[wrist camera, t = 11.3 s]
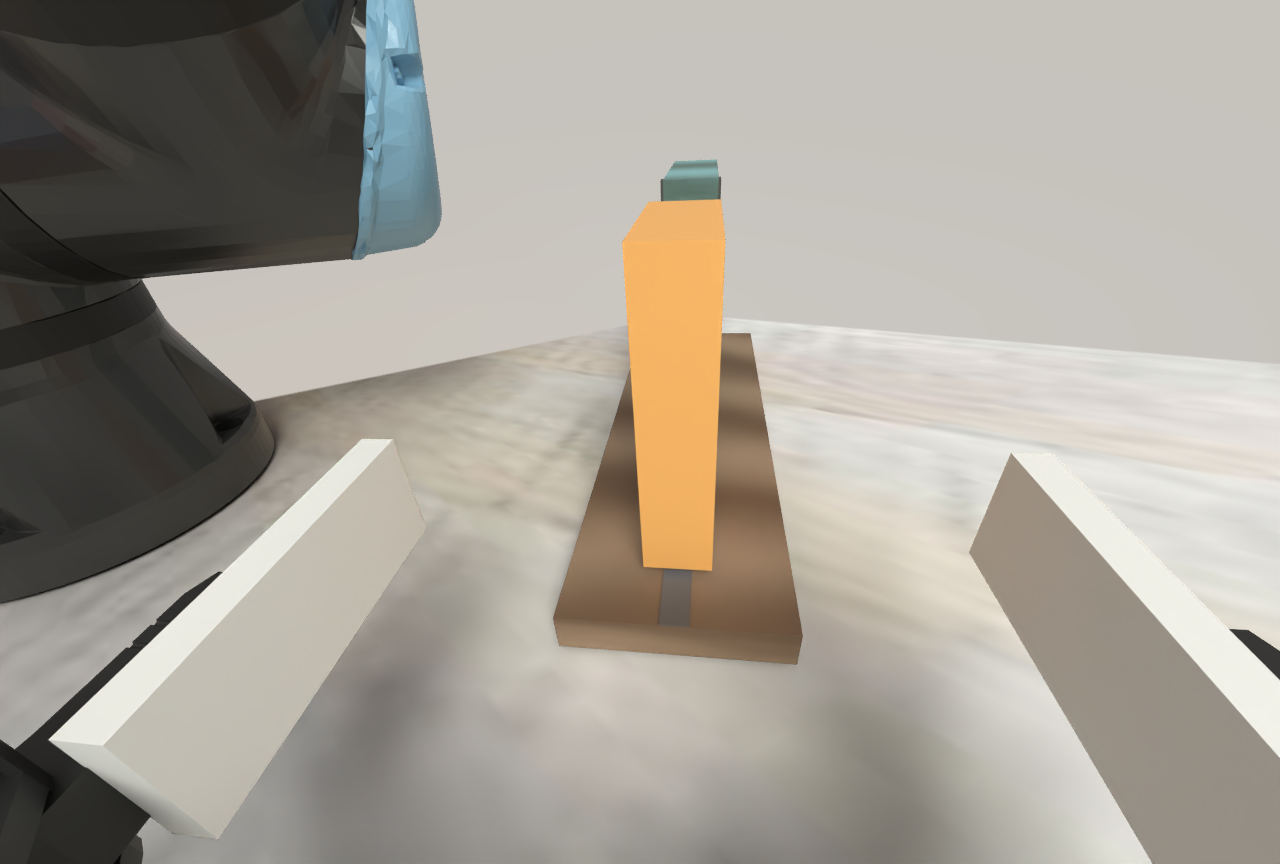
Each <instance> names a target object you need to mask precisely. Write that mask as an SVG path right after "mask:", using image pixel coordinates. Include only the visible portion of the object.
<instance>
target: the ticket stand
mask: <svg viewBox="0 0 1280 864" xmlns="http://www.w3.org/2000/svg"><path fill="white" fill-rule="evenodd" d="M720 194H721V177H719V176H718V166H717V160H697V161H676V162H675V163H674V164H673V166H672V167H671V169H670V170H669V172H668V173H667V175H666V176H665V178H664V179H661V201H687V200H715V199H720ZM553 620H554V624H555V629H556V633H557V638H558V642H559V646H570V647H583V648H595V649H608V650H621V651H634V652H647V653H659V654H672V655H685V656H698V657H711V658H723V659H736V660H749V661H762V662H774V663H787V664H797V662H798V657H799V652H800V647H801V642H802V637H803V635H802V629H801V623H800V617H799V612H798V606H797V600H796V594H795V588H794V583H793V577H792V571H791V565H790V560H789V554H788V548H787V542H786V536H785V531H784V525H783V519H782V513H781V508H780V502H779V496H778V490H777V484H776V479H775V473H774V467H773V461H772V456H771V450H770V444H769V438H768V433H767V427H766V421H765V415H764V409H763V404H762V398H761V392H760V386H759V381H758V375H757V369H756V363H755V357H754V352H753V346H752V340H751V334H750V333H722V335H721V360H720V385H719V410H718V434H717V459H716V484H715V509H714V534H713V559H712V571H706V570H689V569H671V568H653V567H643V552H642V536H641V521H640V506H639V490H638V475H637V460H636V444H635V429H634V414H633V398H632V383H631V368H630V371H629V374H628V377H627V381H626V384H625V387H624V390H623V394H622V397H621V400H620V403H619V406H618V410H617V413H616V416H615V419H614V423H613V426H612V429H611V432H610V436H609V439H608V442H607V445H606V448H605V452H604V455H603V458H602V461H601V465H600V468H599V471H598V474H597V478H596V481H595V484H594V487H593V491H592V494H591V497H590V500H589V503H588V507H587V510H586V513H585V516H584V520H583V523H582V526H581V529H580V533H579V536H578V539H577V542H576V546H575V549H574V552H573V555H572V558H571V562H570V565H569V568H568V571H567V575H566V578H565V581H564V584H563V588H562V591H561V594H560V597H559V601H558V604H557V607H556V610H555V613H554V617H553Z"/></svg>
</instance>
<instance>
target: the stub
mask: <svg viewBox="0 0 1280 864" xmlns="http://www.w3.org/2000/svg"><path fill="white" fill-rule="evenodd" d="M622 245H623V260H624V276H625V291H626V306H627V321H628V337H629V352H630V368H631V383H632V398H633V414H634V429H635V444H636V460H637V475H638V490H639V506H640V521H641V536H642V552H643V567H653V568H671V569H689V570H706V571H712V559H713V534H714V509H715V484H716V459H717V434H718V410H719V385H720V360H721V335H722V310H723V284H724V260H725V232H724V222H723V213H722V203H721V199H715V200H687V201H660V202H648V204H647V205H646V207H645V208H644V210H643V211H642V213H641V214H640V216H639V217H638V219H637V220H636V222H635V223H634V225H633V226H632V228H631V229H630V231H629V233H628V234H627V236H626V237H625V239H624V240H623V242H622Z"/></svg>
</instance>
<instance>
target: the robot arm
mask: <svg viewBox="0 0 1280 864" xmlns="http://www.w3.org/2000/svg"><path fill="white" fill-rule="evenodd" d="M441 215H442V211H441V198H440V190H439V182H438V174H437V166H436V158H435V152H434V144H433V138H432V130H431V122H430V115H429V109H428V102H427V95H426V89H425V83H424V76H423V65H422V59H421V53H420V46H419V38H418V29H417V21H416V13H415V6H414V0H0V603H1V602H5V601H9V600H14V599H18V598H22V597H25V596H29V595H33V594H37V593H40V592H43V591H47V590H50V589H53V588H56V587H59V586H62V585H65V584H68V583H71V582H74V581H77V580H80V579H82V578H85V577H88V576H91V575H93V574H96V573H98V572H101V571H103V570H106V569H108V568H111V567H113V566H115V565H118V564H120V563H122V562H125V561H127V560H129V559H131V558H133V557H136V556H138V555H140V554H142V553H144V552H146V551H148V550H150V549H152V548H154V547H156V546H158V545H160V544H162V543H164V542H166V541H168V540H170V539H172V538H173V537H175V536H177V535H179V534H181V533H182V532H184V531H186V530H188V529H189V528H191V527H193V526H194V525H196V524H198V523H199V522H201V521H202V520H204V519H205V518H207V517H209V516H210V515H212V514H213V513H214V512H216V511H217V510H219V509H220V508H222V507H223V506H224V505H226V504H227V503H228V502H230V501H231V500H232V499H233V498H235V497H236V496H237V495H238V494H240V493H241V492H242V491H243V490H244V489H245V488H246V487H248V486H249V485H250V484H251V483H252V482H253V481H254V480H255V478H256V477H257V476H258V475H259V474H260V473H261V472H262V470H263V469H264V468H265V466H266V465H267V463H268V462H269V460H270V458H271V456H272V453H273V450H274V437H273V435H272V433H271V431H270V429H269V427H268V425H267V424H266V422H265V420H264V418H263V416H262V414H261V412H260V410H259V409H258V407H257V406H256V404H255V403H254V402H253V401H252V400H251V399H250V398H249V397H248V396H247V395H246V394H245V393H244V392H243V391H242V390H241V389H240V388H238V387H237V386H236V385H235V384H234V383H233V382H232V381H231V380H230V379H229V378H227V377H226V376H225V375H224V374H223V373H222V372H221V371H220V370H219V369H218V368H217V367H215V366H214V365H213V364H212V363H211V362H210V361H209V360H208V359H207V358H206V357H204V356H203V355H202V354H201V353H200V352H199V351H198V350H197V349H196V348H195V347H194V346H193V345H191V344H190V343H189V342H188V341H187V340H186V339H185V338H184V337H183V336H182V335H180V334H179V333H178V332H177V331H176V330H175V329H174V328H173V327H172V326H171V325H170V324H169V323H168V322H167V320H166V319H165V318H164V316H163V315H162V313H161V311H160V310H159V308H158V307H157V305H156V303H155V301H154V300H153V298H152V297H151V295H150V293H149V291H148V289H147V288H146V286H145V284H144V283H143V281H142V279H143V278H150V277H159V276H170V275H180V274H192V273H203V272H214V271H224V270H236V269H247V268H258V267H269V266H279V265H291V264H301V263H312V262H323V261H334V260H345V259H352V260H361V259H363V258H364V257H365V256H366V255H368V254H375V253H380V252H386V251H392V250H398V249H404V248H409V247H415V246H418V245H420V244H422V243H424V242H425V241H426V240H428V239H429V238H431V237H432V236H433V235H434V233H435V232H436V230H437V229H438V227H439V225H440V221H441ZM425 530H426V526H425V523H424V520H423V518H422V515H421V512H420V510H419V507H418V504H417V502H416V499H415V496H414V494H413V491H412V488H411V486H410V483H409V481H408V478H407V475H406V473H405V470H404V467H403V465H402V462H401V459H400V457H399V454H398V451H397V449H396V446H395V443H394V441H393V439H361V440H360V441H359V442H358V443H357V444H356V445H355V446H354V447H353V448H352V449H351V450H350V451H349V452H348V453H347V454H346V455H345V456H344V457H343V458H342V459H341V460H340V461H339V462H337V463H336V464H335V465H334V466H333V467H332V468H331V469H330V470H329V471H328V472H327V473H326V474H325V475H324V476H323V477H322V478H321V479H320V480H319V481H318V482H317V483H316V484H315V485H313V486H312V487H311V488H310V489H309V490H308V491H307V492H306V493H305V494H304V495H303V496H302V497H301V498H300V499H299V500H298V501H297V502H296V503H295V504H294V505H293V506H292V507H291V508H290V509H288V510H287V511H286V512H285V513H284V514H283V515H282V516H281V517H280V518H279V519H278V520H277V521H276V522H275V523H274V524H273V525H272V526H271V527H270V528H269V529H268V530H267V531H266V532H264V533H263V534H262V535H261V536H260V537H259V538H258V539H257V540H256V541H255V542H254V543H253V544H252V545H251V546H250V547H249V548H248V549H247V550H246V551H245V552H244V553H243V554H242V555H240V556H239V557H238V558H237V559H236V560H235V561H234V562H233V563H232V564H231V565H230V566H229V567H228V568H227V569H226V570H225V571H224V572H217V573H216V574H214V575H213V576H211V577H210V578H208V579H206V580H205V581H203V582H202V583H200V584H199V585H197V586H196V587H194V588H192V589H191V590H189V591H188V592H186V593H185V594H184V595H182V596H181V597H180V598H179V599H178V600H177V601H176V602H175V603H174V604H173V605H172V606H171V607H170V608H168V609H167V610H166V611H165V612H164V613H163V614H162V615H161V616H160V617H159V618H158V619H157V622H156V624H155V625H150V626H149V627H148V628H147V629H146V630H145V631H144V632H143V633H142V634H140V635H139V636H138V637H137V638H136V639H135V640H134V641H133V645H132V647H130V648H125V649H124V650H123V651H122V652H121V653H120V654H119V655H118V656H117V657H116V658H115V659H114V660H112V661H111V662H110V663H109V664H108V665H107V666H106V667H105V668H104V669H103V670H102V671H101V672H100V673H98V674H97V675H96V676H95V677H94V678H93V679H92V680H91V681H90V682H89V683H88V684H87V685H86V686H84V687H83V688H82V689H81V690H80V691H79V692H78V693H77V694H76V695H75V696H74V697H73V698H72V699H70V700H69V701H68V702H67V703H66V704H65V705H64V706H63V707H62V708H61V709H60V710H59V711H58V712H56V713H55V714H54V715H53V716H52V717H51V718H50V719H49V720H48V721H47V722H46V723H45V724H44V725H42V726H41V727H40V728H39V729H38V730H37V731H36V732H35V733H34V734H33V735H31V736H30V737H29V738H28V739H27V740H26V741H24V742H23V743H22V744H21V745H20V746H18V747H17V748H16V749H13V748H12V747H10V746H9V745H8V744H6V743H5V742H3V741H2V740H0V864H142V858H143V847H142V839H141V838H139V837H138V836H137V835H136V834H137V833H138V832H139V830H140V829H141V828H142V827H143V825H144V824H145V823H146V821H147V820H148V819H149V818H150V817H151V818H153V819H154V820H155V821H157V822H158V823H159V824H161V825H162V826H163V827H165V828H166V829H167V830H169V831H170V832H171V833H173V834H178V835H186V836H194V837H201V838H209V839H217V840H218V839H219V838H220V836H221V835H222V833H223V832H224V830H225V829H226V827H227V826H228V824H229V823H230V821H231V820H232V818H233V817H234V815H235V814H236V812H237V811H238V809H239V808H240V806H241V805H242V803H243V802H244V800H245V799H246V797H247V796H248V794H249V793H250V791H251V790H252V788H253V787H254V785H255V784H256V782H257V781H258V779H259V778H260V776H261V775H262V773H263V772H264V770H265V769H266V767H267V766H268V764H269V763H270V761H271V760H272V758H273V757H274V756H275V754H276V753H277V751H278V750H279V748H280V747H281V745H282V744H283V742H284V741H285V739H286V738H287V736H288V735H289V733H290V732H291V730H292V729H293V727H294V726H295V724H296V723H297V721H298V720H299V718H300V717H301V715H302V714H303V712H304V711H305V709H306V708H307V706H308V705H309V703H310V702H311V700H312V699H313V697H314V696H315V694H316V693H317V691H318V690H319V688H320V687H321V685H322V684H323V682H324V681H325V679H326V678H327V676H328V675H329V673H330V672H331V670H332V669H333V667H334V666H335V664H336V663H337V661H338V660H339V658H340V657H341V655H342V654H343V652H344V651H345V649H346V648H347V646H348V645H349V643H350V642H351V640H352V639H353V637H354V636H355V634H356V633H357V631H358V630H359V628H360V627H361V625H362V624H363V622H364V621H365V619H366V618H367V616H368V615H369V613H370V612H371V610H372V609H373V607H374V606H375V604H376V603H377V601H378V600H379V598H380V597H381V595H382V594H383V592H384V591H385V589H386V588H387V586H388V585H389V583H390V582H391V580H392V579H393V577H394V576H395V574H396V573H397V571H398V570H399V568H400V567H401V565H402V564H403V563H404V561H405V560H406V558H407V557H408V555H409V554H410V552H411V551H412V549H413V548H414V546H415V545H416V543H417V542H418V540H419V539H420V537H421V536H422V534H423V533H424V531H425ZM969 553H970V555H971V556H972V558H973V560H974V561H975V563H976V565H977V567H978V568H979V570H980V572H981V573H982V575H983V577H984V578H985V580H986V582H987V584H988V585H989V587H990V589H991V590H992V592H993V594H994V595H995V597H996V599H997V600H998V602H999V604H1000V606H1001V607H1002V609H1003V611H1004V612H1005V614H1006V616H1007V617H1008V619H1009V621H1010V623H1011V624H1012V626H1013V628H1014V629H1015V631H1016V633H1017V634H1018V636H1019V638H1020V639H1021V641H1022V643H1023V645H1024V646H1025V648H1026V650H1027V651H1028V653H1029V655H1030V656H1031V658H1032V660H1033V662H1034V663H1035V665H1036V667H1037V668H1038V670H1039V672H1040V673H1041V675H1042V677H1043V679H1044V680H1045V682H1046V684H1047V685H1048V687H1049V689H1050V690H1051V692H1052V694H1053V695H1054V697H1055V699H1056V701H1057V702H1058V704H1059V706H1060V707H1061V709H1062V711H1063V712H1064V714H1065V716H1066V718H1067V719H1068V721H1069V723H1070V724H1071V726H1072V728H1073V729H1074V731H1075V733H1076V734H1077V736H1078V738H1079V740H1080V741H1081V743H1082V745H1083V746H1084V748H1085V750H1086V751H1087V753H1088V755H1089V757H1090V758H1091V760H1092V762H1093V763H1094V765H1095V767H1096V768H1097V770H1098V772H1099V774H1100V775H1101V777H1102V779H1103V780H1104V782H1105V784H1106V785H1107V787H1108V789H1109V790H1110V792H1111V794H1112V796H1113V797H1114V799H1115V801H1116V802H1117V804H1118V806H1119V807H1120V809H1121V811H1122V813H1123V814H1124V816H1125V818H1126V819H1127V821H1128V823H1129V824H1130V826H1131V828H1132V829H1133V831H1134V833H1135V835H1136V836H1137V838H1138V840H1139V841H1140V843H1141V845H1142V846H1143V848H1144V850H1145V852H1146V853H1147V855H1148V857H1149V858H1150V860H1151V862H1152V863H1153V864H1280V651H1279V650H1277V649H1276V648H1274V647H1273V646H1271V645H1270V644H1268V643H1267V642H1265V641H1264V640H1262V639H1261V638H1259V637H1258V636H1256V635H1255V634H1253V633H1252V632H1250V631H1249V630H1237V629H1228V628H1227V627H1226V626H1225V625H1224V624H1223V623H1222V622H1221V621H1220V620H1219V619H1218V618H1217V617H1216V616H1215V615H1214V614H1213V613H1212V612H1211V611H1210V610H1209V609H1208V608H1207V607H1206V606H1205V605H1204V604H1203V603H1202V602H1201V601H1200V600H1199V599H1198V598H1197V597H1196V596H1195V595H1194V594H1193V593H1192V592H1191V591H1190V590H1189V589H1188V588H1187V587H1186V586H1185V585H1184V584H1183V583H1182V582H1181V581H1180V580H1179V579H1178V578H1177V577H1176V576H1175V575H1174V574H1173V573H1172V572H1171V571H1170V570H1169V569H1168V568H1167V567H1166V566H1165V565H1164V564H1163V563H1162V562H1161V561H1160V560H1159V559H1158V558H1157V557H1156V556H1155V555H1154V554H1153V553H1152V552H1151V551H1150V550H1149V549H1148V548H1147V547H1146V546H1145V545H1144V544H1143V543H1142V542H1141V541H1140V540H1139V539H1138V538H1137V537H1136V536H1135V535H1134V534H1133V533H1132V532H1131V531H1130V530H1129V529H1128V528H1127V527H1126V526H1125V525H1124V524H1123V523H1122V522H1121V521H1120V520H1119V519H1118V518H1117V517H1116V516H1115V515H1114V514H1113V513H1112V512H1111V511H1110V510H1109V509H1108V508H1107V507H1106V506H1105V505H1104V504H1103V503H1102V502H1101V501H1100V500H1099V499H1098V498H1097V497H1096V496H1095V495H1094V494H1093V493H1092V492H1091V491H1090V490H1089V489H1088V488H1087V487H1086V486H1085V485H1084V484H1083V483H1082V482H1081V481H1080V480H1079V479H1078V478H1077V477H1076V476H1075V475H1074V474H1073V473H1072V472H1071V471H1070V470H1069V469H1068V468H1067V467H1066V466H1065V465H1064V464H1063V463H1062V462H1061V461H1060V460H1059V459H1058V458H1057V457H1056V456H1055V455H1054V454H1037V453H1011V454H1010V457H1009V459H1008V461H1007V464H1006V466H1005V469H1004V471H1003V473H1002V476H1001V478H1000V480H999V483H998V485H997V487H996V490H995V492H994V495H993V497H992V499H991V502H990V504H989V506H988V509H987V511H986V513H985V516H984V518H983V521H982V523H981V525H980V528H979V530H978V532H977V535H976V537H975V539H974V542H973V544H972V547H971V549H970V551H969Z"/></svg>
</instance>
